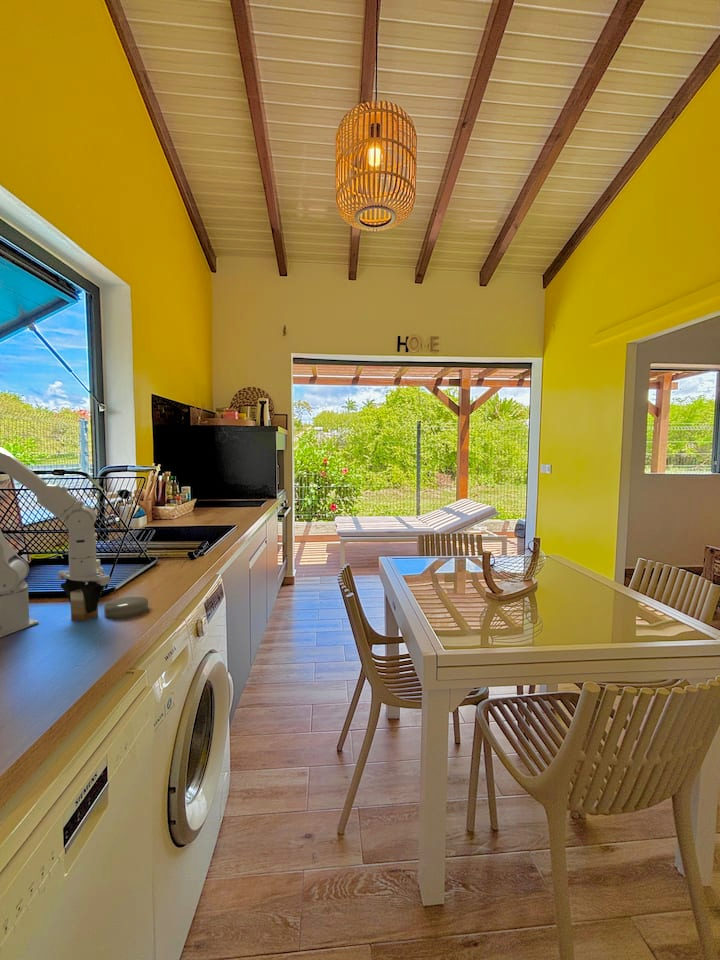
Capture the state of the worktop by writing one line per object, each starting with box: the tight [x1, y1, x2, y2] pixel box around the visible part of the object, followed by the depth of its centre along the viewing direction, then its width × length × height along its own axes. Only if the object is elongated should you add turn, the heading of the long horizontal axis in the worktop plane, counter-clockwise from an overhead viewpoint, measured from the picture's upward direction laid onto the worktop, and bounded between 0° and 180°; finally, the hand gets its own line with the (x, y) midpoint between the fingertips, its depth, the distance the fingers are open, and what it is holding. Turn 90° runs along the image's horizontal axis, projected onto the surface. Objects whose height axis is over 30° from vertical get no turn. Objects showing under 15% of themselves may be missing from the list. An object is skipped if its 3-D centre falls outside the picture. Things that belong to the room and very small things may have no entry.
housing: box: [70, 589, 99, 623], centre depth 110 cm, size 4×4×7 cm
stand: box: [103, 596, 149, 619], centre depth 115 cm, size 10×10×2 cm
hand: (84, 610), depth 110 cm, fingers closed on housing, 4 cm apart
